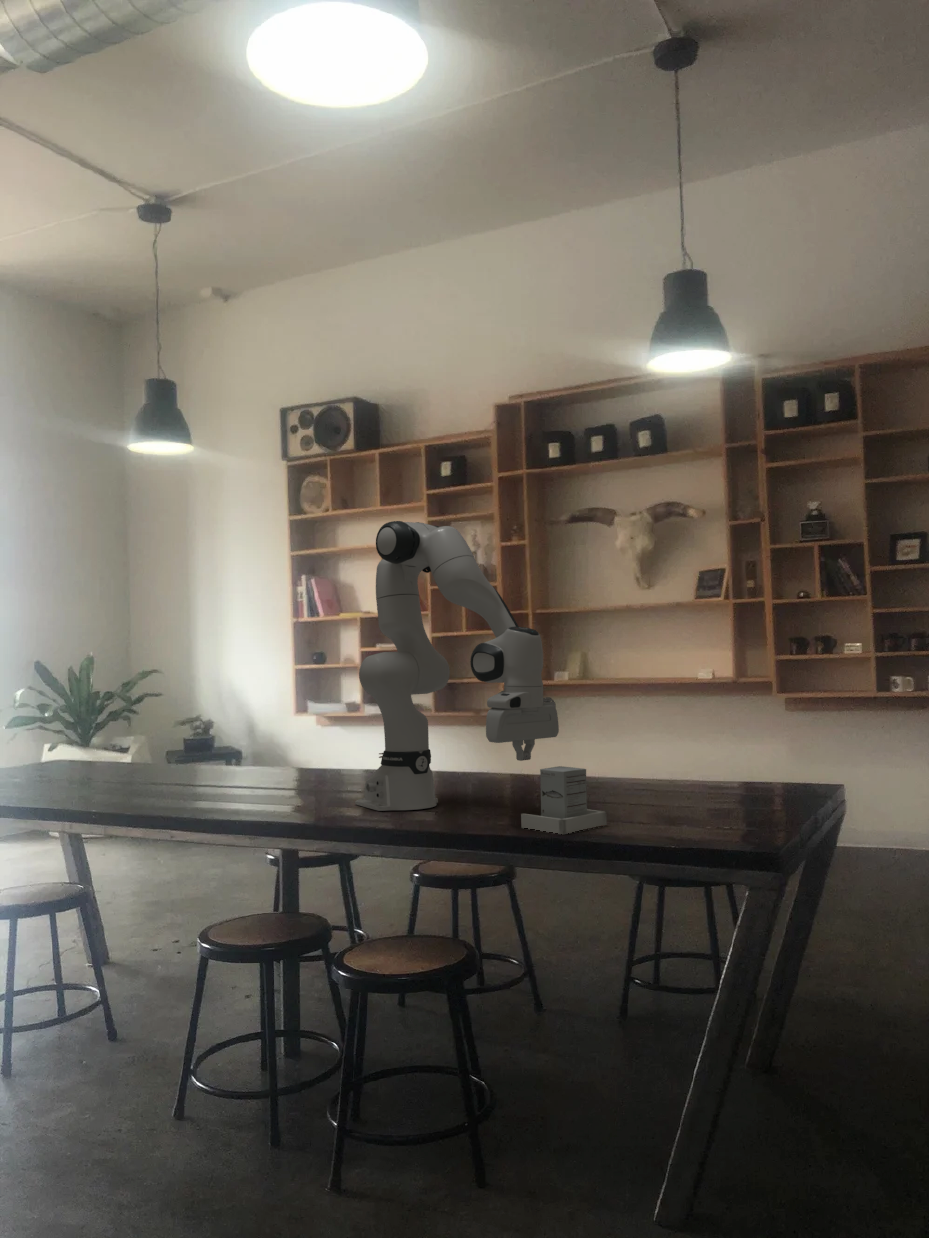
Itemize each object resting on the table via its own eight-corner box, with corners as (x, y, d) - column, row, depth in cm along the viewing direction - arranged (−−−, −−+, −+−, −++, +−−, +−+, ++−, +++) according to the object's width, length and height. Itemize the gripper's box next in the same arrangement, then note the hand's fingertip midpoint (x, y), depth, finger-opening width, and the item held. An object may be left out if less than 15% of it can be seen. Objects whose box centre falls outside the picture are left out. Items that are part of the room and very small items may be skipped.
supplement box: (540, 827, 204) (538, 768, 205) (563, 822, 209) (561, 765, 210) (565, 831, 199) (563, 771, 199) (588, 826, 204) (587, 767, 204)
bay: (521, 828, 204) (521, 814, 204) (565, 819, 213) (564, 806, 213) (562, 834, 195) (562, 820, 195) (606, 825, 204) (606, 811, 204)
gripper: (545, 696, 223) (545, 754, 222) (481, 699, 209) (481, 762, 209) (565, 697, 218) (565, 757, 218) (501, 701, 204) (501, 765, 204)
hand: (523, 760), depth 213 cm, fingers closed
